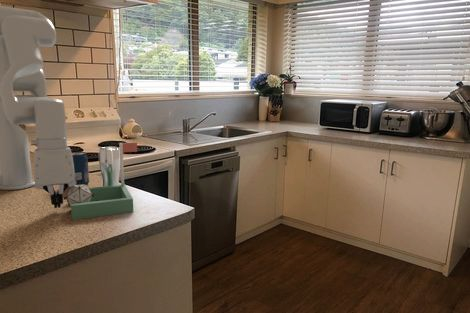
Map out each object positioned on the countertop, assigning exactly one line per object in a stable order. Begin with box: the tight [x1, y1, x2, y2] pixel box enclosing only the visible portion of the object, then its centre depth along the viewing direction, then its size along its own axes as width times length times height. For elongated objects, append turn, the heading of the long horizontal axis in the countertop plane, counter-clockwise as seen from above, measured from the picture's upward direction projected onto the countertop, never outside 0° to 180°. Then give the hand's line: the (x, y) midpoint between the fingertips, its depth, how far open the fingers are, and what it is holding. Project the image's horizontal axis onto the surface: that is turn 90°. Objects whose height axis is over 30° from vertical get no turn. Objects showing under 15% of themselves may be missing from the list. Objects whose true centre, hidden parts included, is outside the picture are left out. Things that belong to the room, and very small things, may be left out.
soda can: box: [71, 151, 90, 186], centre depth 130 cm, size 7×7×12 cm
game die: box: [63, 182, 95, 213], centre depth 107 cm, size 9×8×10 cm
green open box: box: [70, 141, 138, 220], centre depth 110 cm, size 21×16×18 cm
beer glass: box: [98, 146, 121, 187], centre depth 125 cm, size 7×7×15 cm
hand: (57, 206), depth 105 cm, fingers closed
